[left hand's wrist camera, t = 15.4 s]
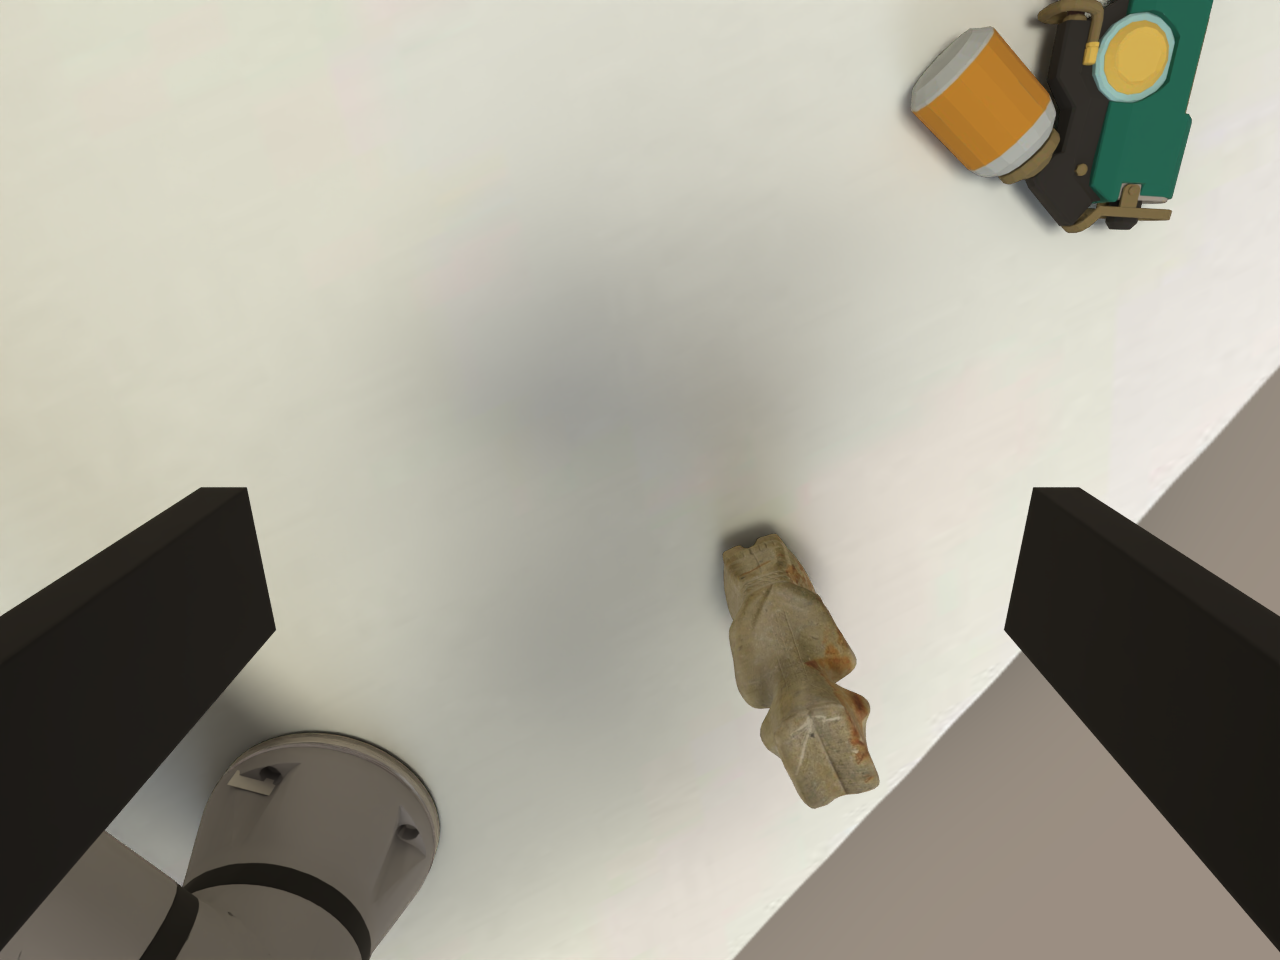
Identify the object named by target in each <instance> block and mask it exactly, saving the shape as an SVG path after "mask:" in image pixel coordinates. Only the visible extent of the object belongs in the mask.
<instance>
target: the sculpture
mask: <svg viewBox="0 0 1280 960" xmlns="http://www.w3.org/2000/svg"><path fill="white" fill-rule="evenodd" d="M723 561H724V589H725V595H726V600H727V604H728V608H729V611H730V614H731V616H732V619H733V622H732V624H731V627H730V629H729V640H730V646H731V651H732V656H733V661H734V669H735V678H736V683H737V687H738V690H739V692H740V694H741V695H742V697H743V698H744V700H745V701H746V702H747V703H748V704H749V705H750V706H752V707H754V708H758V709H763V708H770V709H769V712H768V713H767V715H766V717H765V719H764V721H763V723H762V725H761V729H760V736H761V739H762V742H763V743H764V745H765V746H766V748H767V749H768V750H769V751H771V752H772V753H774V754H775V755H777V756H778V757H779V758H781V760H782V762H783V764H784V767H785V769H786V771H787V772H788V774H789V776H790V778H791V780H792V782H793V784H794V786H795V788H796V790H797V792H798V794H799V796H800V797H801V799H802V800H803V801H804V803H805V804H807V805H808V806H809V807H811V808H814V809H815V808H818V807H822V806H825V805H827V804H829V803H830V802H832V801H833V800H834V799H836V798H838V797H840V796H843V795H848V794H858V793H862V792H867V791H870V790H872V789H875V788H876V787H877V786H878V785H879V777H878V773H877V771H876V768H875V766H874V764H873V761H872V759H871V756H870V754H869V752H868V748H867V743H866V721H867V719H868V716H869V713H870V705H869V702H868V701H867V700H866V699H865V698H864V697H863V696H861V695H859V694H857V693H854V692H852V691H849V690H847V689H844V688H842V687H841V686H839V685H837V684H835V683H836V682H838V681H839V680H841V679H842V678H843V677H845V676H846V675H848V674H849V673H850V672H851V671H852V670H853V669H854V668H855V666H856V657H855V655H854V653H853V651H852V650H851V648H850V646H849V645H848V643H847V642H846V640H845V638H844V637H843V635H842V633H841V632H840V630H839V629H838V627H837V626H836V624H835V622H834V620H833V618H832V616H831V615H830V613H829V611H828V610H827V608H826V607H825V605H824V604H823V602H822V600H821V598H820V596H819V595H818V594H816V593H815V590H814V588H813V585H812V583H811V581H810V579H809V577H808V575H807V573H806V572H805V570H804V569H803V567H802V565H801V564H800V563H799V561H798V560H797V558H796V557H795V556H794V555H793V553H792V552H791V551H790V550H789V549H788V548H787V547H786V546H785V544H784V543H783V541H782V540H781V539H780V537H779V536H778V535H777V534H770V535H766V536H763V537H760V538H758V539H757V541H756V543H755V544H754V545H753V546H752V547H749V548H744V547H742V546H740V545H739V546H735V547H733V548H731V549H729V550H727V551H725V552H724V553H723Z"/></svg>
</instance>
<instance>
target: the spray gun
mask: <svg viewBox="0 0 1280 960" xmlns="http://www.w3.org/2000/svg"><path fill="white" fill-rule="evenodd" d="M1212 4H1213V0H1116V1H1114V2H1113V3H1111V4H1110V5H1108V6H1106V7H1105V8H1103V6H1102V4H1101V3H1100V2H1098V1H1096V0H1060V1H1057V2H1055V3H1052V4H1050V5H1049V6H1047V7H1046V8H1044V9H1043V10H1042V11H1040V12H1039V14H1038V20H1039V21H1041V22H1043V23H1046V24H1058V27H1057V32H1056V37H1055V42H1054V47H1053V52H1052V58H1051V63H1050V68H1049V73H1048V78H1047V81H1048V84H1049V86H1050V89H1051V91H1052V93H1053V96H1054V98H1055V100H1056V103H1057V105H1058V108H1059V110H1060V115H1059V121H1058V127H1057V131H1056V130H1055V129H1054V128H1053V124H1054V120H1055V116H1056V111H1055V108H1054V105H1053V102H1052V100H1051V97H1050V95H1049V93H1048V92H1047V91H1046V90H1045V88H1044V87H1043V86H1042V85H1041V84H1040V82H1039V81H1038V80H1037V79H1036V78H1035V77H1034V75H1033V74H1032V73H1031V72H1030V71H1029V69H1028V68H1027V67H1026V66H1025V65H1024V63H1023V62H1022V61H1021V60H1020V59H1019V57H1018V56H1017V55H1016V54H1015V53H1014V51H1013V50H1012V49H1011V48H1010V47H1009V45H1008V44H1007V43H1006V42H1005V41H1004V39H1003V38H1002V37H1001V36H1000V35H999V33H998V32H997V31H996V30H995V29H994V28H993V27H990V26H989V27H984V28H973V29H969V30H967V31H966V32H965V33H963V34H962V35H961V36H959V37H958V38H957V39H956V40H955V41H954V42H953V43H951V44H950V45H949V46H948V47H947V48H946V49H945V50H944V51H943V52H942V53H941V54H940V55H939V56H938V57H937V58H936V60H935V61H934V62H933V63H932V64H931V65H930V66H929V67H928V68H927V70H926V71H925V72H924V73H923V75H922V76H921V77H920V78H919V80H918V81H917V83H916V84H915V86H914V88H913V91H912V100H911V110H912V112H913V113H914V114H915V115H916V116H917V117H918V118H919V119H920V120H921V121H922V123H923V124H924V125H925V126H926V127H927V128H928V129H929V130H930V131H931V132H932V133H933V134H934V135H935V136H936V137H937V138H938V139H939V140H940V141H941V142H942V143H943V144H944V145H945V146H946V147H947V148H948V149H949V150H950V151H951V152H952V153H953V154H954V156H955V157H956V158H957V159H958V160H959V161H960V162H961V163H962V164H963V165H964V166H965V167H966V168H967V169H968V170H970V171H972V172H974V173H976V174H977V175H979V176H982V177H994V176H998V177H999V178H1000V179H1001V181H1002V182H1003V183H1005V184H1012V183H1015V182H1018V181H1020V180H1023V179H1025V180H1026V183H1027V185H1028V188H1029V189H1030V190H1031V191H1032V193H1033V194H1034V195H1035V196H1036V198H1037V199H1038V200H1039V201H1040V202H1041V204H1042V205H1043V206H1044V207H1045V209H1046V210H1047V211H1048V212H1049V213H1050V215H1051V216H1052V217H1053V218H1054V220H1055V221H1056V222H1057V223H1058V225H1059V226H1061V227H1062V228H1063V229H1064V230H1065V231H1066V232H1068V233H1077V232H1081V231H1083V230H1085V229H1086V228H1088V227H1090V226H1091V225H1092V224H1093V223H1094V222H1095V221H1096V220H1097V219H1098V218H1105V219H1106V221H1105V222H1106V224H1107V226H1108V228H1109V229H1118V230H1130V229H1131V228H1132V227H1133V226H1134V225H1135V224H1136V223H1137V221H1138V220H1140V221H1159V220H1170V216H1171V213H1172V211H1171V210H1167V209H1149V208H1141V205H1142V204H1158V203H1166V202H1167V200H1168V199H1171V198H1172V196H1173V193H1174V189H1175V185H1176V181H1177V177H1178V173H1179V170H1180V166H1181V162H1182V158H1183V154H1184V150H1185V146H1186V143H1187V139H1188V135H1189V131H1190V127H1191V123H1192V119H1191V117H1190V115H1189V114H1186V110H1187V106H1188V102H1189V98H1190V94H1191V90H1192V86H1193V82H1194V78H1195V74H1196V70H1197V66H1198V62H1199V58H1200V54H1201V50H1202V46H1203V42H1204V38H1205V34H1206V30H1207V26H1208V22H1209V16H1210V12H1211V8H1212ZM1066 11H1067V12H1066ZM1085 12H1087V13H1090V14H1091V16H1090V17H1089V18H1087V17H1086V16H1085V15H1084V14H1085ZM1093 203H1097V206H1096V209H1094V208H1088V207H1089V206H1090V205H1091V204H1093Z"/></svg>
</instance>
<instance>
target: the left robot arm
mask: <svg viewBox="0 0 1280 960" xmlns="http://www.w3.org/2000/svg"><path fill="white" fill-rule="evenodd" d="M275 630H276V628H275V623H274V618H273V613H272V608H271V603H270V598H269V593H268V589H267V584H266V579H265V574H264V569H263V564H262V559H261V554H260V550H259V545H258V540H257V535H256V530H255V525H254V520H253V515H252V511H251V506H250V501H249V496H248V491H247V487H201V488H199V489H198V490H196V491H195V492H193V493H191V494H190V495H188V496H187V497H185V498H184V499H182V500H181V501H179V502H177V503H176V504H174V505H173V506H171V507H170V508H168V509H167V510H165V511H163V512H162V513H160V514H159V515H157V516H156V517H154V518H153V519H151V520H149V521H148V522H146V523H145V524H143V525H142V526H140V527H139V528H137V529H135V530H134V531H132V532H131V533H129V534H128V535H126V536H125V537H123V538H121V539H120V540H118V541H117V542H115V543H114V544H112V545H111V546H109V547H107V548H106V549H104V550H103V551H101V552H100V553H98V554H97V555H95V556H94V557H92V558H90V559H89V560H87V561H86V562H84V563H83V564H81V565H80V566H78V567H76V568H75V569H73V570H72V571H70V572H69V573H67V574H66V575H64V576H62V577H61V578H59V579H58V580H56V581H55V582H53V583H52V584H50V585H48V586H47V587H45V588H44V589H42V590H41V591H39V592H38V593H36V594H34V595H33V596H31V597H30V598H28V599H27V600H25V601H24V602H22V603H20V604H19V605H17V606H16V607H14V608H13V609H11V610H10V611H8V612H6V613H5V614H3V615H2V616H0V960H369V959H370V957H371V954H372V952H373V951H374V950H375V948H376V947H377V946H378V944H379V943H380V942H381V940H382V939H383V938H384V936H385V935H386V934H387V932H388V931H389V930H390V928H391V927H392V926H393V925H394V923H395V922H396V921H397V919H398V918H399V917H400V915H401V914H402V913H403V911H404V910H405V909H406V907H407V906H408V905H409V903H410V902H411V901H412V899H413V898H414V897H415V895H416V894H417V893H418V891H419V890H420V888H421V886H422V884H423V883H424V881H425V879H426V876H427V874H428V873H429V871H430V868H431V865H432V863H433V860H434V856H435V853H436V850H437V846H438V842H439V834H440V828H439V819H438V814H437V811H436V807H435V805H434V802H433V800H432V798H431V796H430V794H429V793H428V791H427V790H426V788H425V787H424V785H423V784H422V782H421V781H420V780H419V779H418V778H417V777H416V775H414V774H413V773H412V772H411V771H410V770H409V769H408V768H407V767H406V766H405V765H404V764H402V763H401V762H400V761H398V760H397V759H395V758H394V757H393V756H391V755H389V754H388V753H386V752H384V751H382V750H380V749H378V748H376V747H374V746H372V745H370V744H367V743H365V742H362V741H359V740H356V739H352V738H349V737H344V736H340V735H334V734H327V733H297V734H289V735H284V736H279V737H276V738H272V739H269V740H267V741H264V742H262V743H260V744H258V745H256V746H254V747H252V748H250V749H249V750H247V751H246V752H244V753H243V754H242V755H241V756H239V757H238V758H237V759H236V760H235V761H234V762H233V763H232V764H231V766H230V767H229V768H228V770H227V771H226V772H225V774H224V775H223V776H222V778H221V779H220V781H219V782H218V783H217V785H216V786H215V788H214V790H213V792H212V794H211V796H210V798H209V800H208V802H207V804H206V806H205V809H204V811H203V815H202V818H201V822H200V826H199V829H198V833H197V836H196V840H195V844H194V847H193V851H192V854H191V858H190V862H189V865H188V869H187V872H186V876H185V880H184V883H183V886H182V887H181V886H180V885H179V884H177V883H176V882H175V881H174V880H173V879H172V878H170V877H169V876H167V875H166V874H165V873H163V872H162V871H160V870H159V869H158V868H156V867H155V866H153V865H152V864H151V863H149V862H148V861H146V860H145V859H144V858H142V857H141V856H139V855H138V854H137V853H135V852H134V851H133V850H131V849H130V848H128V847H127V846H126V845H124V844H123V843H121V842H120V841H119V840H117V839H116V838H114V837H113V836H112V835H110V834H109V833H107V832H106V831H105V829H106V828H107V827H108V825H109V824H110V823H111V822H112V821H113V820H114V818H115V817H116V816H117V815H118V814H119V813H120V811H121V810H122V809H123V808H124V807H125V806H126V804H127V803H128V802H129V801H130V800H131V799H132V797H133V796H134V795H135V794H136V793H137V792H138V790H139V789H140V788H141V787H142V786H143V785H144V783H145V782H146V781H147V780H148V779H149V778H150V776H151V775H152V774H153V773H154V772H155V771H156V769H157V768H158V767H159V766H160V765H161V764H162V762H163V761H164V760H165V759H166V758H167V757H168V755H169V754H170V753H171V752H172V751H173V750H174V748H175V747H176V746H177V745H178V744H179V743H180V741H181V740H182V739H183V738H184V737H185V736H186V734H187V733H188V732H189V731H190V730H191V729H192V727H193V726H194V725H195V724H196V723H197V722H198V720H199V719H200V718H201V717H202V716H203V715H204V713H205V712H206V711H207V710H208V709H209V708H210V706H211V705H212V704H213V703H214V702H215V701H216V699H217V698H218V697H219V696H220V695H221V694H222V692H223V691H224V690H225V689H226V688H227V687H228V685H229V684H230V683H231V682H232V681H233V680H234V678H235V677H236V676H237V675H238V674H239V673H240V671H241V670H242V669H243V668H244V667H245V665H246V664H247V663H248V662H249V661H250V660H251V658H252V657H253V656H254V655H255V654H256V653H257V651H258V650H259V649H260V648H261V647H262V646H263V644H264V643H265V642H266V641H267V640H268V639H269V637H270V636H271V635H272V634H273V633H274V632H275ZM1004 630H1005V632H1006V633H1007V634H1008V635H1009V636H1010V637H1011V639H1012V640H1013V641H1014V642H1015V643H1016V644H1017V646H1018V647H1019V648H1020V649H1021V650H1022V651H1023V653H1024V654H1025V655H1026V656H1027V657H1028V658H1029V660H1030V661H1031V662H1032V663H1033V664H1034V665H1035V667H1036V668H1037V669H1038V670H1039V671H1040V673H1041V674H1042V675H1043V676H1044V677H1045V678H1046V680H1047V681H1048V682H1049V683H1050V684H1051V685H1052V687H1053V688H1054V689H1055V690H1056V691H1057V692H1058V694H1059V695H1060V696H1061V697H1062V698H1063V699H1064V701H1065V702H1066V703H1067V704H1068V705H1069V706H1070V708H1071V709H1072V710H1073V711H1074V712H1075V713H1076V715H1077V716H1078V717H1079V718H1080V719H1081V720H1082V722H1083V723H1084V724H1085V725H1086V726H1087V727H1088V729H1089V730H1090V731H1091V732H1092V733H1093V734H1094V736H1095V737H1096V738H1097V739H1098V740H1099V741H1100V743H1101V744H1102V745H1103V746H1104V747H1105V748H1106V750H1107V751H1108V752H1109V753H1110V754H1111V755H1112V757H1113V758H1114V759H1115V760H1116V761H1117V762H1118V764H1119V765H1120V766H1121V767H1122V768H1123V769H1124V771H1125V772H1126V773H1127V774H1128V775H1129V776H1130V778H1131V779H1132V780H1133V781H1134V782H1135V783H1136V785H1137V786H1138V787H1139V788H1140V789H1141V790H1142V792H1143V793H1144V794H1145V795H1146V796H1147V797H1148V799H1149V800H1150V801H1151V802H1152V803H1153V804H1154V806H1155V807H1156V808H1157V809H1158V810H1159V811H1160V813H1161V814H1162V815H1163V816H1164V817H1165V818H1166V820H1167V821H1168V822H1169V823H1170V824H1171V825H1172V827H1173V828H1174V829H1175V830H1176V831H1177V832H1178V834H1179V835H1180V836H1181V837H1182V838H1183V839H1184V841H1185V842H1186V843H1187V844H1188V845H1189V846H1190V848H1191V849H1192V850H1193V851H1194V852H1195V854H1196V855H1197V856H1198V857H1199V858H1200V859H1201V861H1202V862H1203V863H1204V864H1205V865H1206V866H1207V868H1208V869H1209V870H1210V871H1211V872H1212V873H1213V875H1214V876H1215V877H1216V878H1217V879H1218V880H1219V882H1220V883H1221V884H1222V885H1223V886H1224V887H1225V889H1226V890H1227V891H1228V892H1229V893H1230V894H1231V896H1232V897H1233V898H1234V899H1235V900H1236V901H1237V903H1238V904H1239V905H1240V906H1241V907H1242V908H1243V910H1244V911H1245V912H1246V913H1247V914H1248V915H1249V917H1250V918H1251V919H1252V920H1253V921H1254V922H1255V924H1256V925H1257V926H1258V927H1259V928H1260V929H1261V931H1262V932H1263V933H1264V934H1265V935H1266V936H1267V938H1268V939H1269V940H1270V941H1271V942H1272V943H1273V945H1274V946H1275V947H1276V948H1277V949H1278V950H1279V952H1280V616H1278V615H1277V614H1275V613H1273V612H1272V611H1270V610H1269V609H1267V608H1266V607H1264V606H1263V605H1261V604H1260V603H1258V602H1256V601H1255V600H1253V599H1252V598H1250V597H1249V596H1247V595H1246V594H1244V593H1242V592H1241V591H1239V590H1238V589H1236V588H1235V587H1233V586H1232V585H1230V584H1228V583H1227V582H1225V581H1224V580H1222V579H1221V578H1219V577H1218V576H1216V575H1214V574H1213V573H1211V572H1210V571H1208V570H1207V569H1205V568H1204V567H1202V566H1200V565H1199V564H1197V563H1196V562H1194V561H1193V560H1191V559H1190V558H1188V557H1186V556H1185V555H1183V554H1182V553H1180V552H1179V551H1177V550H1176V549H1174V548H1172V547H1171V546H1169V545H1168V544H1166V543H1165V542H1163V541H1162V540H1160V539H1158V538H1157V537H1155V536H1154V535H1152V534H1151V533H1149V532H1148V531H1146V530H1145V529H1143V528H1141V527H1140V526H1138V525H1137V524H1135V523H1134V522H1132V521H1131V520H1129V519H1127V518H1126V517H1124V516H1123V515H1121V514H1120V513H1118V512H1117V511H1115V510H1113V509H1112V508H1110V507H1109V506H1107V505H1106V504H1104V503H1103V502H1101V501H1099V500H1098V499H1096V498H1095V497H1093V496H1092V495H1090V494H1089V493H1087V492H1085V491H1084V490H1082V489H1081V488H1079V487H1033V491H1032V496H1031V501H1030V506H1029V510H1028V515H1027V520H1026V525H1025V530H1024V535H1023V540H1022V545H1021V550H1020V554H1019V559H1018V564H1017V569H1016V574H1015V579H1014V584H1013V589H1012V593H1011V598H1010V603H1009V608H1008V613H1007V618H1006V623H1005V628H1004Z"/></svg>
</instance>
